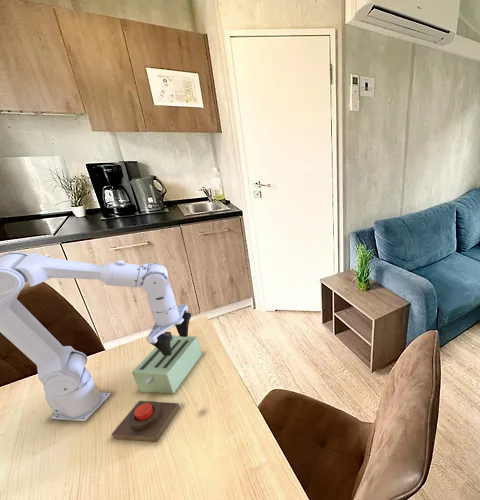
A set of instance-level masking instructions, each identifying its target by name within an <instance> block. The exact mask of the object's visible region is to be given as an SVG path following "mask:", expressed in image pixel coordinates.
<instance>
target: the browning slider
mask: <svg viewBox="0 0 480 500" xmlns="http://www.w3.org/2000/svg"><path fill="white" fill-rule="evenodd" d="M163 335H165V336H171V339H170V341H171V340H172V339H173V337H172V335H173V334H172V332H171V331H166V332H164V333H163Z"/></svg>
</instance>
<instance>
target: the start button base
mask: <svg viewBox="0 0 480 500" xmlns="http://www.w3.org/2000/svg"><path fill="white" fill-rule="evenodd" d="M145 403H150V404H151V405H152V407H153V410H154V411H153V414H152V415H151V416H150V417H149V418H147V419H146V420H143V421H138V420H137V419H136V417H135V414H134V413H135V410H136V409H137V408H138V407H139V406H141V405H142V404H145ZM180 409H181V406H180V404H179V402H163V401H148V400H138V401H137V402H136V404H135V405H134V406H133V408H132V409H131V410H130V411H129V412H128V414H126V416H125V417H124V419H123V420H122V421H121V422H120V423H119V424H118V426H117V427H116V429H114V431H113V432H112V433H111V436H112V438H113V439H116V440H129V441H130V440H131V441H141V442H142V441H143V442H155V443H157V442H159V440H160V438H161V437H162V436H163V434H164V432H165V431H166V429H167V428H168V427H169V425H170V423H171V422H172V420H173V419H174V417H175V416H176V414H177V413H178V411H179V410H180Z"/></svg>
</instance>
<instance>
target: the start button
mask: <svg viewBox="0 0 480 500" xmlns="http://www.w3.org/2000/svg"><path fill="white" fill-rule="evenodd" d="M153 411H154V410H153V407H152V405H151V404H150V403H145V404H142V405H141V406H139V407H138V408H137V409H136V410H135V413H134V414H135V417H136V419H137V420H138V421H143V420H146V419H147V418H149V417H150V416H151V415H152V414H153Z"/></svg>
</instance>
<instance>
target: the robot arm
mask: <svg viewBox="0 0 480 500" xmlns="http://www.w3.org/2000/svg"><path fill="white" fill-rule="evenodd" d="M50 279H74V280H77V279H78V280H99V281H101V282H102V283H103V284H104V285H106V286H113V287H126V288H136V289H137V288H140V289H142V290H143V291H144V292H146V298H147V300H148V304H149V306H150V310H151V312H152V315H153V318H154V321H155V323H154V324H153V326H152V328H151V330H150V332H149V333H148V334H147V336H146V337H145V339H146V342H147V343H148V344H150V345H151V346H153V347H154V348H155V347H156V348H158V349H159V350H160V352H161V353H162V354H163V355H164V356H170V355H171V354H172V350H171V346H170V339H171V336H165V335H163V334H164V333H165V332H168V331H169V330H170V329H172V328H173V327H175V328H176V331H177V334H178V336H180V337H187V336H189V326H190V325H189V324H190V320H191V318H192V314H191V312H188V311H189V307H188V304H180V305H177V302H176V299H175V295H174V292H173V289H172V287H171V284H170V280H169V272H168V269H167V267H166V266H164V264H161V263H157V262H151V263H142V264H136V263H127V262H125V260H121V259H120V260H117V261H110V262H108V263H106V264H103V265H102V264H96V263H90V262H82V261H77V260H70V259H64V258H58V257H57V258H56V257H50V256H47V255H43V254H40V253H35V252H34V253H32V252H31V253H26V252H21V251H10V252H7V253H3V254H2V255H0V333H1V334H2V336H4V337H5V338H6V339H7V340H8V341H10V342H11V343H12V344H13V345H14V346H15V347H16V348H17V349H18V350H19V351H21V352H22V353H23V354H24V355H25V356H26V357H27V358H28V359H29V360H30V361H31V362H32V363H34V364H35V365H36V371H37V378H38V380H39V381H40V382H41V383H42V387H43V391H44V399H45V401H46V403H47V404H48V406H49V407H50V409H51V410H52V412H53V415H52V416H51V417H50V418H51V419H52V420H61V421H77V422H86V421H88V420H89V419H90V417H91V416H92V415H93V414H94V413H95V412H96V411H97V410H98V409H99V408H100V407H101V406H102V405H103V404H104V403H105V402H106V401H107V399H109V398H110V397H111V395H112V394H111V393H110V392H101V391H100V390H99V388H98V386H97V384H96V382H95V380H94V378H93V376H92V374H91V372H90V371H89V370H88V369H87V368H86V364H87V363H88V357H87V355H86V354H85V353H84V352H82V351H79V350H76V349H74V348H73V346H71V345H65V346H64V345H62V343H60V341H59V340H58V339H56V337H54V336H53V334H52V333H51V332H50V331H48V329H47V328H46V327H45V326H43V324H42V323H41V322H40V321H39V320H38V319H37V318H36V317H35V316H34V315H33V314H32V313H31V311H29V310H28V309H27V308H26V306H24V305H23V304H22V302H21V301H20V300H18V296H19V294H20V292H21V291H22V290H23V289H24V287H25V284H26V283H28V284H29V287H31V288H32V287H34V286H37V285H40V284H41V283H43V282H46V281H48V280H50Z"/></svg>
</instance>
